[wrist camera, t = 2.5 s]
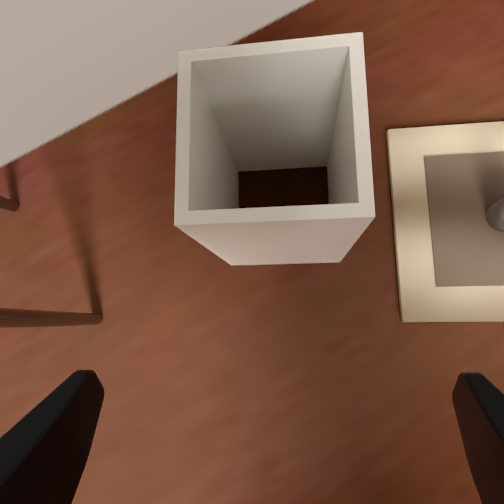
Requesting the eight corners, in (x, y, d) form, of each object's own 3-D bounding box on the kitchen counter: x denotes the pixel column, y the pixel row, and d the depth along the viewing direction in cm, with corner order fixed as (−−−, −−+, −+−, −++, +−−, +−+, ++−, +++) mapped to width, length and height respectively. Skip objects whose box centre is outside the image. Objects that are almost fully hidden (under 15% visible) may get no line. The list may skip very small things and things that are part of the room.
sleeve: (339, 262, 23) (375, 216, 12) (231, 265, 24) (174, 225, 13) (334, 158, 24) (362, 31, 13) (231, 164, 25) (178, 50, 14)
